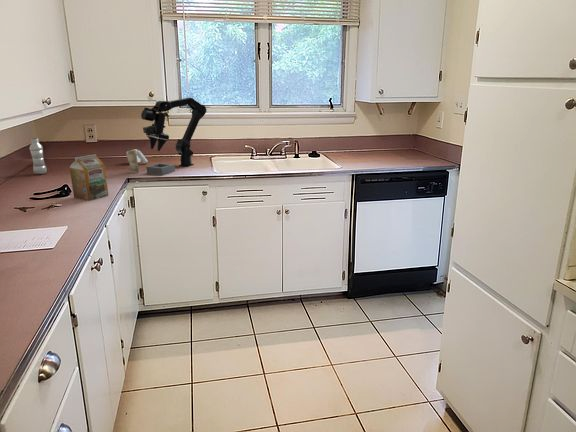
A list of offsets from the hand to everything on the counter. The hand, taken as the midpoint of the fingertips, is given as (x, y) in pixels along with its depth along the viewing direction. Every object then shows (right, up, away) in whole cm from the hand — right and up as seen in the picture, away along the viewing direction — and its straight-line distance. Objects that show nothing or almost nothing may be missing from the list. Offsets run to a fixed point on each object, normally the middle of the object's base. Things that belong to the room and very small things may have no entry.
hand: (155, 149), depth 260 cm
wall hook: (-16, -6, +21) cm, 27 cm away
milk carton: (-14, -30, -53) cm, 62 cm away
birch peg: (-11, -13, -3) cm, 17 cm away
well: (+4, -13, -3) cm, 14 cm away
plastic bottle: (-62, -15, -7) cm, 64 cm away
